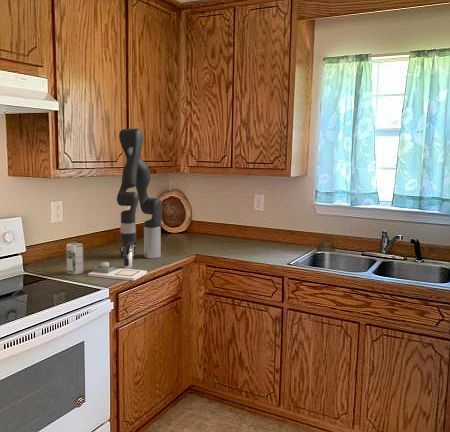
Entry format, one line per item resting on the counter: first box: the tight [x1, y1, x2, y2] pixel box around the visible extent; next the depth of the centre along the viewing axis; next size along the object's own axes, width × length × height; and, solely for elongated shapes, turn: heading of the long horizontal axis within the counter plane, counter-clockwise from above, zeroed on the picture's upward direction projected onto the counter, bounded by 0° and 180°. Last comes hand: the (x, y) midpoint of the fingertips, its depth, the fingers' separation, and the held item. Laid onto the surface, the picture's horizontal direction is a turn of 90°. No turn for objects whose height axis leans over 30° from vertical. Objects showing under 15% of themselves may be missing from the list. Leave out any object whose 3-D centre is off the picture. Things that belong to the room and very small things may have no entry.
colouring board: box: [87, 264, 148, 282], centre depth 227 cm, size 14×24×3 cm, turn 74°
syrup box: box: [66, 242, 84, 275], centre depth 228 cm, size 6×6×14 cm
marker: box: [124, 248, 133, 269], centre depth 237 cm, size 4×4×10 cm
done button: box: [99, 261, 110, 268], centre depth 229 cm, size 4×4×3 cm
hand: (128, 264), depth 238 cm, fingers open, 4 cm apart
